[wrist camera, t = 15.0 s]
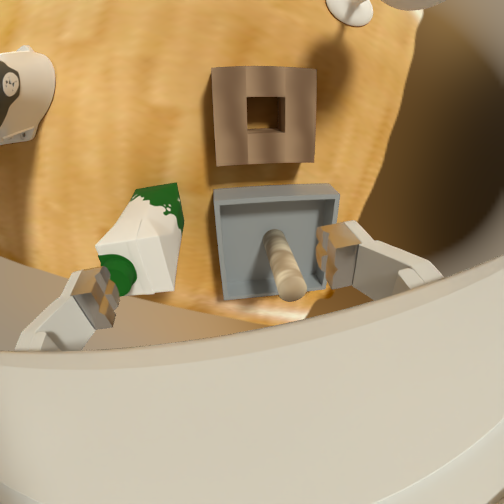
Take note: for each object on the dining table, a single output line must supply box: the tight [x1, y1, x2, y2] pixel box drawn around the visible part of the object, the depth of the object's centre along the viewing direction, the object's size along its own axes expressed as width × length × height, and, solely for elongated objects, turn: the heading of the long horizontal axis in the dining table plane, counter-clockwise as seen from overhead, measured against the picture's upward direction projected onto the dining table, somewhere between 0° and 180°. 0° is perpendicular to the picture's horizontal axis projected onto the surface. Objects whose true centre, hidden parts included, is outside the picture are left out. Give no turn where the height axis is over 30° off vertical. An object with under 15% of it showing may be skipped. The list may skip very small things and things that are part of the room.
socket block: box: [211, 66, 317, 166], centre depth 35 cm, size 14×14×5 cm
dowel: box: [263, 229, 307, 302], centre depth 43 cm, size 4×4×14 cm
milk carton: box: [95, 183, 184, 297], centre depth 35 cm, size 9×9×20 cm
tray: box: [214, 184, 340, 300], centre depth 47 cm, size 20×20×5 cm
